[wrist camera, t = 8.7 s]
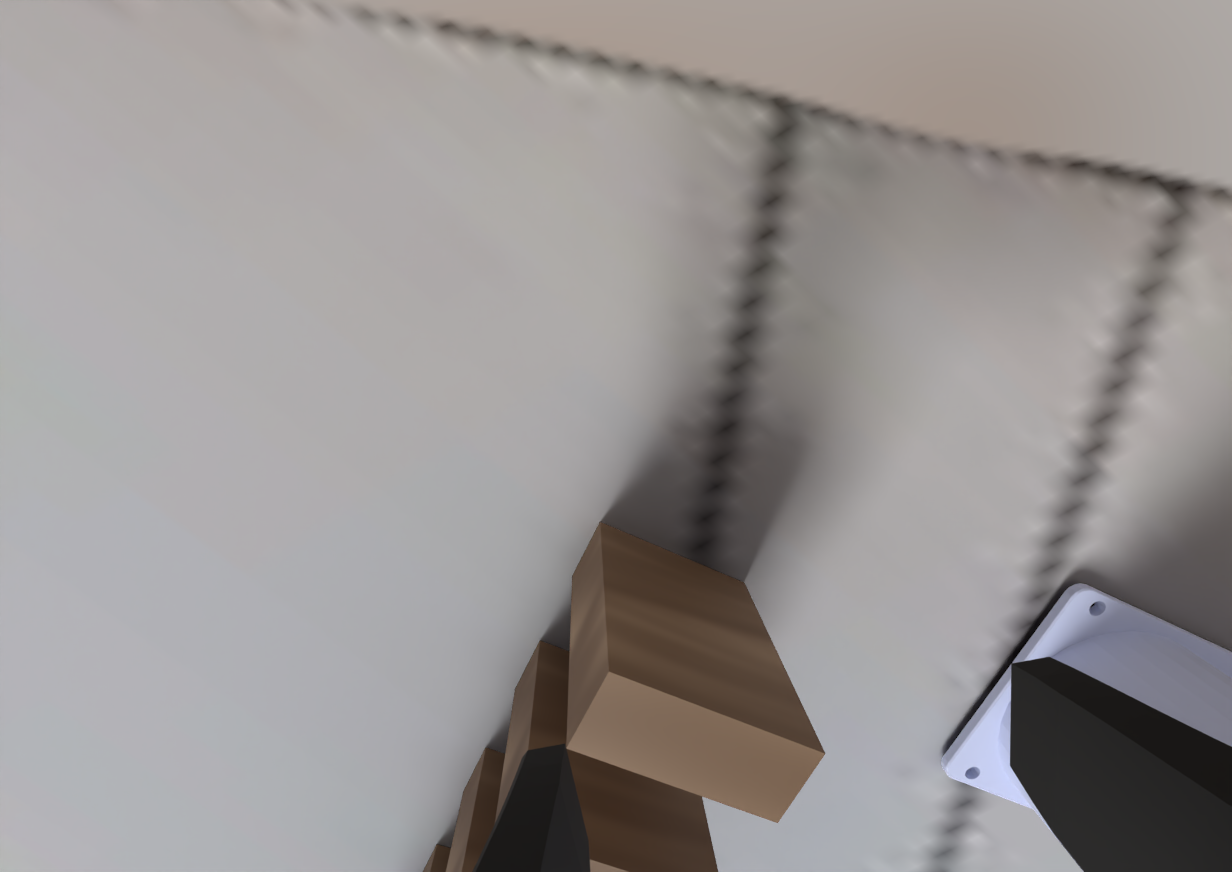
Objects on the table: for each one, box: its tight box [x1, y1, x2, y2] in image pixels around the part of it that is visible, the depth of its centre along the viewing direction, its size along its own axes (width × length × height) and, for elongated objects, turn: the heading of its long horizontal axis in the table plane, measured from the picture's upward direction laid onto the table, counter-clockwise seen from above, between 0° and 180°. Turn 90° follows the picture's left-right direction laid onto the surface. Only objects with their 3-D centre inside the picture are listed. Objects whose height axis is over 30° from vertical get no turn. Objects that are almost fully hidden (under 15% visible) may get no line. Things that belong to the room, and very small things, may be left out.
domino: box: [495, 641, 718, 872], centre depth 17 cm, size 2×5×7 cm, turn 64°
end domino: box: [566, 522, 825, 823], centre depth 16 cm, size 2×5×7 cm, turn 64°
